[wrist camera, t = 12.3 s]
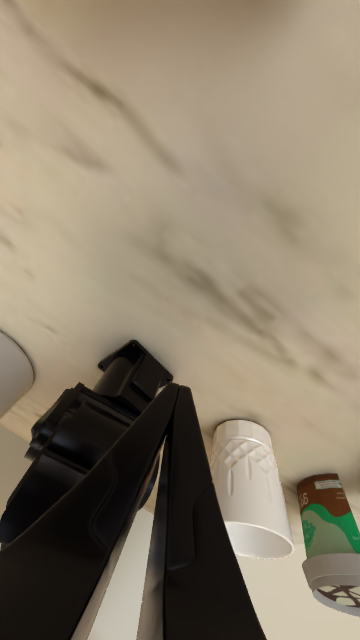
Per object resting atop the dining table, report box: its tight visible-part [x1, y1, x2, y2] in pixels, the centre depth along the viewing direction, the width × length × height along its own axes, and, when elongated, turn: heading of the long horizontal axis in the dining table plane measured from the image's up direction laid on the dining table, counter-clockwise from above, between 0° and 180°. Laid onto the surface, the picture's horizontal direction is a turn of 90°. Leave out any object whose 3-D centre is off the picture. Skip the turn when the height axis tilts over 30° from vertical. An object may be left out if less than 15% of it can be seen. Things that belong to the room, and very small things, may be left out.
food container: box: [297, 474, 360, 617], centre depth 28 cm, size 12×6×10 cm, turn 18°
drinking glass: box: [210, 420, 294, 560], centre depth 24 cm, size 8×8×10 cm
